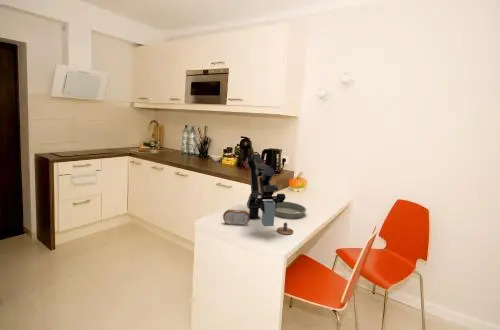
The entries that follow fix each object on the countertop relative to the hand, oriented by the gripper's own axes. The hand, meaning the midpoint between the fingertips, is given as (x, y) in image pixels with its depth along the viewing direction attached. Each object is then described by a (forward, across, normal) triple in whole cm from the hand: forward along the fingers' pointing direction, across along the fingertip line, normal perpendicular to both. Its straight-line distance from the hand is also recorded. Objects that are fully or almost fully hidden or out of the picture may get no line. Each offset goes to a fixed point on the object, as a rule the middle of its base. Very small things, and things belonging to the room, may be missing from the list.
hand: (269, 212), depth 146 cm
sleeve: (+4, 0, +6) cm, 7 cm away
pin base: (+4, +12, +15) cm, 20 cm away
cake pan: (-17, +24, +37) cm, 47 cm away
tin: (-4, -13, +23) cm, 27 cm away
